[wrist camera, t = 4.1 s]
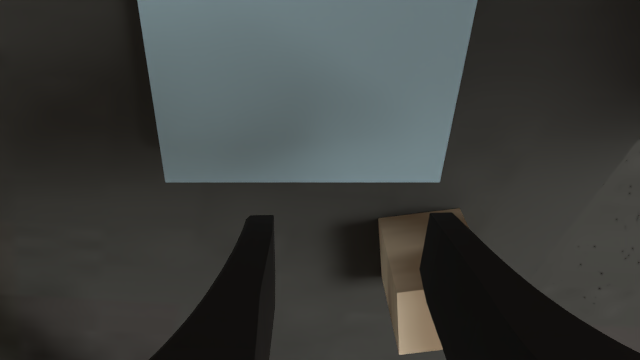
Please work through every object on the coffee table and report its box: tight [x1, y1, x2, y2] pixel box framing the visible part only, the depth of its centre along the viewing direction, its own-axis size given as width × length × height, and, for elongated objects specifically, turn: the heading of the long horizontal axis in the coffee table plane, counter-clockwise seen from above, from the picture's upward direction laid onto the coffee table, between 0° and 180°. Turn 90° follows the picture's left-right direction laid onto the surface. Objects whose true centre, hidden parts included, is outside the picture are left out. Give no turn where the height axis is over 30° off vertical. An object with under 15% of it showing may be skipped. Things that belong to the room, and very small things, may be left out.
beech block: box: [378, 208, 469, 355], centre depth 24 cm, size 4×4×5 cm
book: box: [137, 0, 477, 182], centre depth 19 cm, size 11×8×3 cm
